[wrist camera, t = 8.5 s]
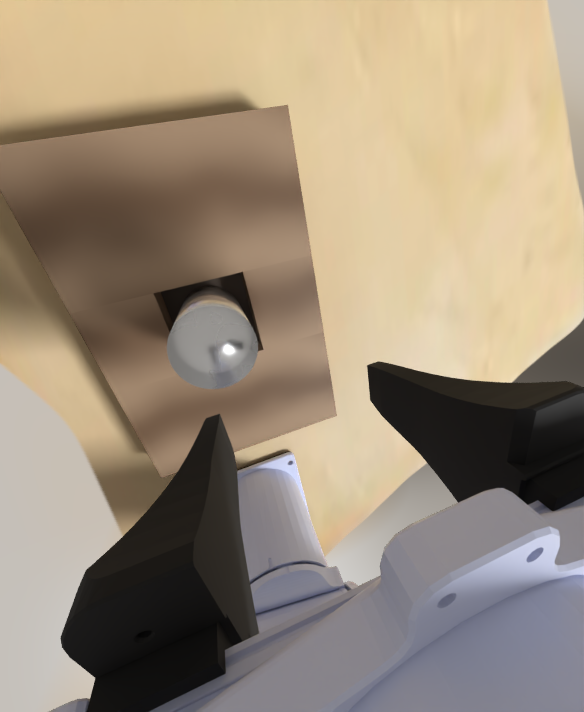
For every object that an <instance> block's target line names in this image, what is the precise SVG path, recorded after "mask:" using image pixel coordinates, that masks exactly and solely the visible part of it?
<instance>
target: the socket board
mask: <svg viewBox="0 0 584 712" xmlns="http://www.w3.org/2000/svg"><path fill="white" fill-rule="evenodd" d="M0 191H1V193H2V195H3V196H4V198H5V200H6V202H7V204H8V205H9V207H10V209H11V211H12V212H13V214H14V216H15V218H16V220H17V221H18V223H19V225H20V227H21V229H22V230H23V232H24V234H25V236H26V237H27V239H28V241H29V243H30V245H31V246H32V248H33V250H34V252H35V254H36V255H37V257H38V259H39V261H40V262H41V264H42V266H43V268H44V270H45V271H46V273H47V275H48V277H49V279H50V280H51V282H52V284H53V286H54V287H55V289H56V291H57V293H58V295H59V296H60V298H61V300H62V302H63V303H64V305H65V307H66V309H67V311H68V312H69V314H70V316H71V318H72V320H73V321H74V323H75V325H76V327H77V328H78V330H79V332H80V334H81V336H82V337H83V339H84V341H85V343H86V345H87V346H88V348H89V350H90V352H91V353H92V355H93V357H94V359H95V361H96V362H97V364H98V366H99V368H100V370H101V371H102V373H103V375H104V377H105V378H106V380H107V382H108V384H109V386H110V387H111V389H112V391H113V393H114V394H115V396H116V398H117V400H118V402H119V403H120V405H121V407H122V409H123V411H124V412H125V414H126V416H127V418H128V419H129V421H130V423H131V425H132V427H133V428H134V430H135V432H136V434H137V436H138V437H139V439H140V441H141V443H142V444H143V446H144V448H145V450H146V452H147V453H148V455H149V457H150V459H151V461H152V462H153V464H154V466H155V468H156V469H157V471H158V473H159V475H160V477H161V478H163V477H166V476H168V475H171V474H174V473H177V472H178V470H179V469H180V467H181V465H182V464H183V462H184V460H185V459H186V457H187V455H188V453H189V451H190V450H191V448H192V446H193V444H194V442H195V440H196V438H197V436H198V434H199V431H200V429H201V427H202V425H203V423H204V421H205V419H206V418H208V417H211V416H214V415H217V414H220V415H221V418H222V421H223V423H224V426H225V429H226V431H227V434H228V436H229V439H230V442H231V444H232V447H233V450H234V452H236V451H239V450H241V449H244V448H247V447H250V446H253V445H256V444H258V443H261V442H264V441H267V440H270V439H272V438H275V437H278V436H281V435H284V434H286V433H289V432H292V431H295V430H298V429H301V428H303V427H306V426H309V425H312V424H315V423H317V422H320V421H323V420H326V419H329V418H332V417H334V416H337V414H336V408H335V401H334V395H333V389H332V382H331V376H330V370H329V363H328V357H327V351H326V344H325V338H324V332H323V325H322V319H321V313H320V306H319V300H318V294H317V287H316V281H315V275H314V268H313V262H312V256H311V249H310V243H309V237H308V230H307V224H306V218H305V211H304V205H303V198H302V192H301V186H300V179H299V173H298V167H297V160H296V154H295V148H294V141H293V135H292V129H291V122H290V116H289V110H288V105H284V106H277V107H270V108H263V109H256V110H248V111H241V112H234V113H227V114H220V115H212V116H205V117H198V118H191V119H184V120H176V121H169V122H162V123H155V124H148V125H140V126H133V127H126V128H119V129H112V130H104V131H97V132H90V133H83V134H76V135H68V136H61V137H54V138H47V139H40V140H32V141H25V142H18V143H11V144H4V145H0ZM206 286H215V287H219V288H222V289H225V290H227V291H228V292H230V293H231V294H232V295H233V296H234V297H235V298H236V300H237V301H238V303H239V305H240V306H241V308H242V310H243V312H244V314H245V315H246V317H247V319H248V321H249V323H250V324H251V326H252V328H253V330H254V332H255V334H256V337H257V342H258V354H257V358H256V361H255V364H254V366H253V368H252V369H251V371H250V372H249V373H248V374H247V375H246V376H245V377H244V378H243V379H242V380H240V381H239V382H237V383H235V384H234V385H231V386H229V387H225V388H220V389H204V388H200V387H197V386H194V385H192V384H189V383H188V382H186V381H185V380H183V379H182V378H181V377H180V376H179V375H178V374H177V373H176V372H175V371H174V369H173V368H172V366H171V364H170V361H169V359H168V354H167V341H168V337H169V334H170V331H171V329H172V327H173V325H174V322H175V320H176V318H177V316H178V314H179V311H180V309H181V307H182V305H183V302H184V301H185V299H186V298H187V296H188V295H189V294H190V293H191V292H193V291H194V290H196V289H198V288H201V287H206Z"/></svg>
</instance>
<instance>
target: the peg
mask: <svg viewBox="0 0 584 712" xmlns="http://www.w3.org/2000/svg"><path fill="white" fill-rule="evenodd" d="M167 354H168V359H169V361H170V364H171V366H172V368H173V369H174V371H175V372H176V373H177V374H178V375H179V376H180V377H181V378H182V379H183V380H185V381H186V382H188V383H189V384H192V385H194V386H197V387H200V388H204V389H220V388H225V387H229V386H231V385H234V384H235V383H237V382H239V381H240V380H242V379H243V378H244V377H245V376H246V375H247V374H248V373H249V372H250V371H251V369H252V368H253V366H254V364H255V361H256V358H257V354H258V342H257V337H256V334H255V332H254V330H253V328H252V326H251V324H250V323H249V321H248V319H247V317H246V315H245V314H244V312H243V310H242V308H241V306H240V305H239V303H238V301H237V300H236V298H235V297H234V296H233V295H232V294H231V293H230V292H228V291H227V290H225V289H222V288H219V287H215V286H206V287H201V288H198V289H196V290H194V291H193V292H191V293H190V294H189V295H188V296H187V298H186V299H185V301H184V302H183V305H182V307H181V309H180V311H179V314H178V316H177V318H176V320H175V322H174V325H173V327H172V329H171V331H170V334H169V337H168V341H167Z"/></svg>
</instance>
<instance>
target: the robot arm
mask: <svg viewBox="0 0 584 712" xmlns="http://www.w3.org/2000/svg"><path fill="white" fill-rule="evenodd" d="M367 368H368V379H369V390H370V400H371V402H372V403H373V404H374V406H375V407H376V409H377V410H378V411H379V412H380V414H381V415H382V416H383V417H384V418H385V419H386V420H387V421H388V422H389V423H390V424H391V425H392V426H393V427H394V428H395V429H396V430H397V431H398V432H399V433H400V434H401V435H402V436H403V437H404V438H405V439H406V440H407V441H408V442H409V443H410V444H411V445H412V446H413V447H414V448H415V449H416V450H417V451H418V452H419V453H420V454H421V456H422V457H423V458H424V459H425V460H426V462H427V463H428V464H429V465H430V467H431V468H432V469H433V470H434V471H435V473H436V474H437V475H438V476H439V478H440V479H441V480H442V482H443V483H444V484H445V485H446V487H447V488H448V489H449V491H450V492H451V493H452V495H453V496H454V497H455V499H456V500H457V502H458V503H457V504H454V505H452V506H450V507H448V508H445V509H444V510H441V511H439V512H437V513H434V514H432V515H430V516H428V517H426V518H423V519H421V520H419V521H417V522H415V523H412V524H411V525H409V526H407V527H406V528H404V529H403V530H401V531H400V532H398V533H397V534H395V535H394V537H393V538H392V539H391V540H390V542H389V543H388V544H387V545H386V546H385V548H384V551H383V555H382V559H381V563H380V570H381V576H379V577H376V578H374V579H372V580H370V581H368V582H366V583H364V584H362V585H360V586H358V585H356V584H355V583H354V582H350V581H348V582H345V583H343V580H342V578H341V576H340V573H339V570H338V568H337V567H336V566H335V567H328V565H327V562H326V559H325V557H324V554H323V551H322V549H321V546H320V543H319V541H318V538H317V535H316V533H315V530H314V527H313V525H312V522H311V519H310V515H309V511H308V507H307V503H306V499H305V496H304V492H303V488H302V484H301V480H300V476H299V472H298V469H297V465H296V461H295V457H294V454H293V453H292V452H287V453H285V454H282V455H279V456H276V457H274V458H271V459H268V460H266V461H263V462H260V463H257V464H255V465H252V466H249V467H247V468H244V469H241V470H238V471H237V467H236V461H235V456H234V450H233V447H232V444H231V442H230V439H229V436H228V434H227V431H226V429H225V426H224V423H223V421H222V418H221V415H220V414H217V415H214V416H211V417H208V418H206V419H205V421H204V423H203V425H202V427H201V429H200V431H199V434H198V436H197V438H196V440H195V442H194V444H193V446H192V448H191V450H190V451H189V453H188V455H187V457H186V459H185V460H184V462H183V464H182V465H181V467H180V469H179V470H178V472H177V473H176V475H175V476H174V478H173V479H172V481H171V482H170V483H169V485H168V486H167V488H166V489H165V490H164V492H163V493H162V494H161V495H160V496H159V498H158V499H157V500H156V501H155V502H154V504H153V505H152V506H151V507H150V508H149V510H148V511H147V512H146V513H145V514H144V515H143V516H142V517H141V519H140V520H139V521H138V522H137V523H136V524H135V525H134V526H133V527H132V528H131V529H130V530H129V531H128V532H127V533H126V534H125V535H124V536H123V537H122V538H121V539H120V540H119V541H118V542H117V543H116V544H115V545H114V546H113V547H111V548H110V549H109V550H108V551H107V552H106V553H105V554H104V555H103V556H102V557H100V558H99V559H98V560H97V561H96V562H95V563H94V564H93V565H92V566H91V567H89V568H88V569H87V570H86V572H85V574H84V577H83V579H82V581H81V583H80V586H79V588H78V591H77V593H76V596H75V599H74V602H73V605H72V607H71V610H70V613H69V616H68V618H67V621H66V624H65V627H64V630H63V632H62V635H61V644H62V648H63V649H64V650H65V652H66V653H67V654H68V655H69V657H70V658H71V659H73V660H74V661H75V662H77V663H78V664H79V665H80V666H81V667H83V668H84V669H85V670H86V671H88V672H89V673H90V674H91V675H93V676H94V677H95V682H94V686H93V690H92V694H91V698H90V699H87V698H85V699H77V700H74V701H71V702H69V703H66V704H64V705H62V706H60V707H58V708H56V709H53V710H51V711H50V712H584V387H581V386H579V385H576V384H573V383H571V382H567V381H561V382H540V383H500V382H484V381H472V380H464V379H457V378H450V377H444V376H439V375H434V374H429V373H425V372H421V371H416V370H412V369H408V368H405V367H401V366H397V365H393V364H389V363H384V362H376V363H373V364H370V365H367ZM289 461H291V462H289Z"/></svg>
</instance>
